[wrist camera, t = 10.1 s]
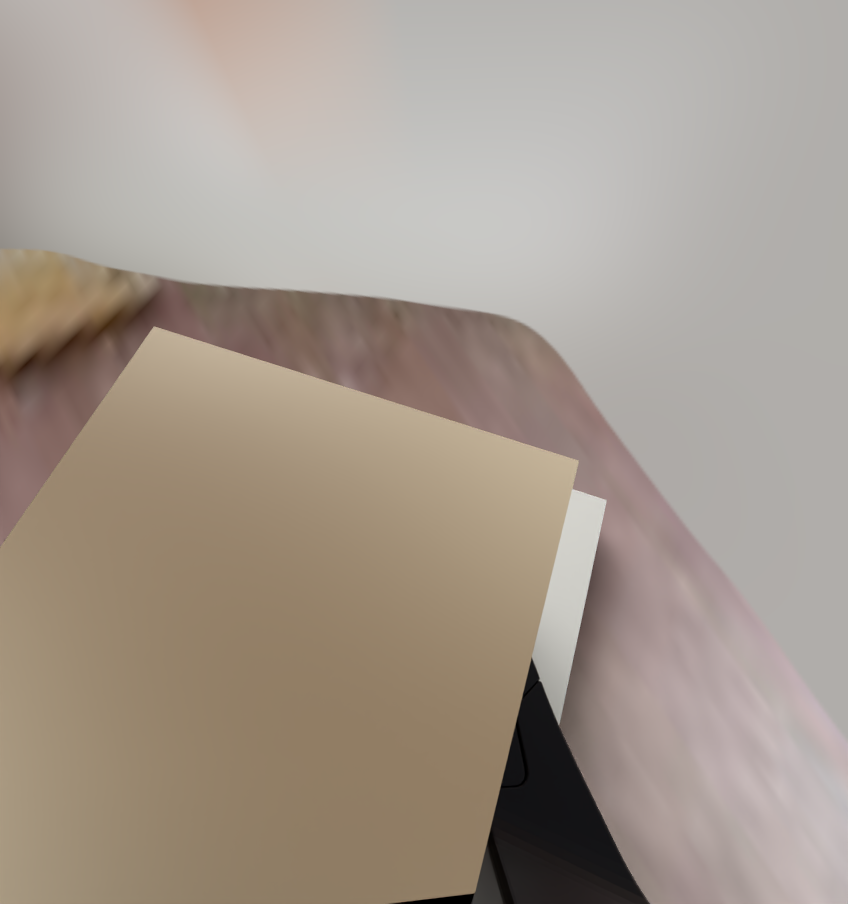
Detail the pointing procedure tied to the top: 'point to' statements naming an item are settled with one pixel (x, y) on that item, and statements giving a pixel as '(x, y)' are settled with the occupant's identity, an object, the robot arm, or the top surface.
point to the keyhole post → (266, 642)
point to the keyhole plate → (567, 596)
